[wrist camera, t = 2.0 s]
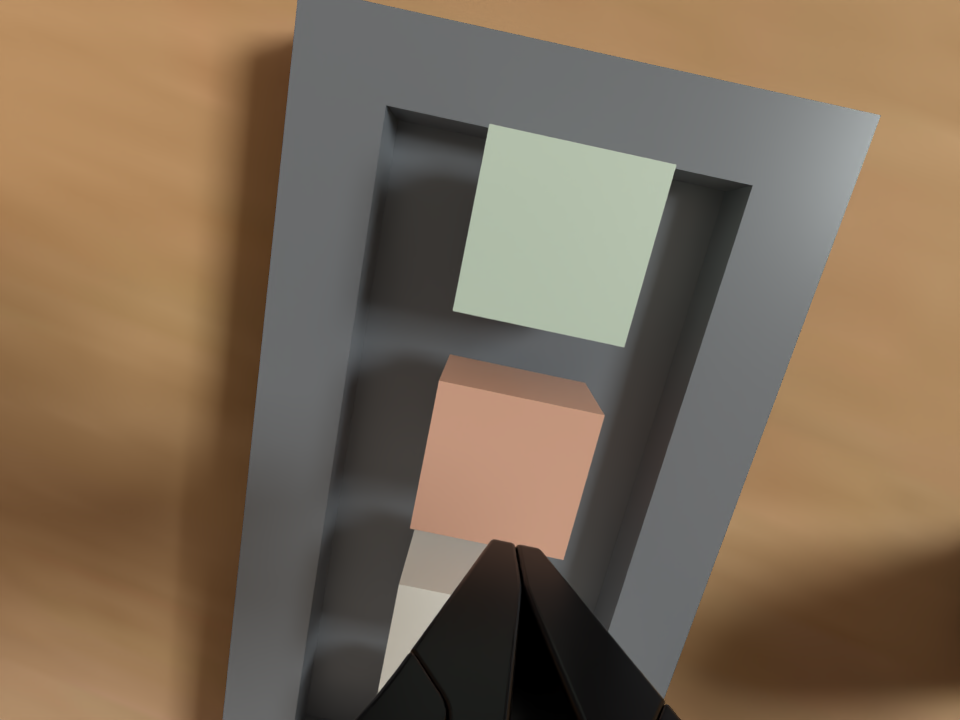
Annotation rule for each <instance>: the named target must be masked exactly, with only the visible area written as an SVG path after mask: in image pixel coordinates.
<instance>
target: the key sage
mask: <svg viewBox="0 0 960 720" xmlns="http://www.w3.org/2000/svg"><path fill="white" fill-rule="evenodd" d="M675 168H676V164H671V163H667V162H662V161H658V160H653V159H648V158H644V157H639V156H635V155H630V154H626V153H621V152H616V151H612V150H607V149H603V148H598V147H594V146H589V145H584V144H580V143H575V142H571V141H566V140H562V139H557V138H552V137H548V136H543V135H539V134H534V133H530V132H525V131H520V130H516V129H511V128H507V127H502V126H498V125H493V124H489V128H488V134H487V139H486V144H485V149H484V154H483V159H482V164H481V169H480V174H479V179H478V184H477V190H476V195H475V200H474V205H473V210H472V215H471V220H470V225H469V230H468V235H467V240H466V246H465V251H464V256H463V261H462V266H461V271H460V276H459V281H458V286H457V291H456V296H455V301H454V307H453V311H455V312H460V313H465V314H470V315H474V316H479V317H484V318H488V319H493V320H498V321H502V322H507V323H512V324H517V325H521V326H526V327H531V328H535V329H540V330H545V331H550V332H554V333H559V334H564V335H568V336H573V337H578V338H582V339H587V340H592V341H597V342H601V343H606V344H611V345H615V346H620V347H625V343H626V340H627V336H628V333H629V329H630V326H631V322H632V319H633V315H634V312H635V308H636V305H637V301H638V298H639V294H640V291H641V287H642V284H643V280H644V277H645V273H646V270H647V266H648V263H649V259H650V256H651V252H652V249H653V245H654V242H655V238H656V235H657V231H658V228H659V224H660V221H661V217H662V214H663V210H664V207H665V203H666V200H667V196H668V193H669V189H670V186H671V182H672V179H673V175H674V172H675Z"/></svg>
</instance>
